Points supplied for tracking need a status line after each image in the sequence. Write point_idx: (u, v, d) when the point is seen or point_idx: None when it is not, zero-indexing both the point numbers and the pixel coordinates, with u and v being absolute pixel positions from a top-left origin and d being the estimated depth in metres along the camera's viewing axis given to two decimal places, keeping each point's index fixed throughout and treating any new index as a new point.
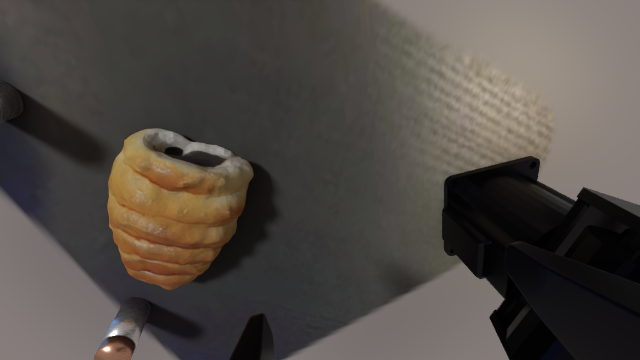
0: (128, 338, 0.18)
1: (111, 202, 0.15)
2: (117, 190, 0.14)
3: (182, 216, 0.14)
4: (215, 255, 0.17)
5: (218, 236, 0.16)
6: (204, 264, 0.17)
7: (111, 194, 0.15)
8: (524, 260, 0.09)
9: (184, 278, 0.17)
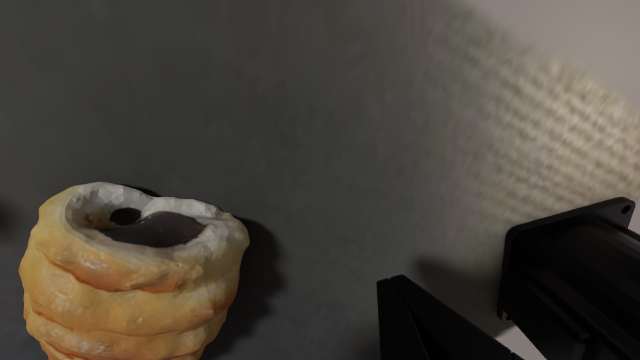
0: None
1: (26, 301, 0.10)
2: (28, 290, 0.09)
3: (136, 328, 0.09)
4: None
5: (197, 343, 0.10)
6: None
7: (24, 290, 0.09)
8: (398, 296, 0.08)
9: None
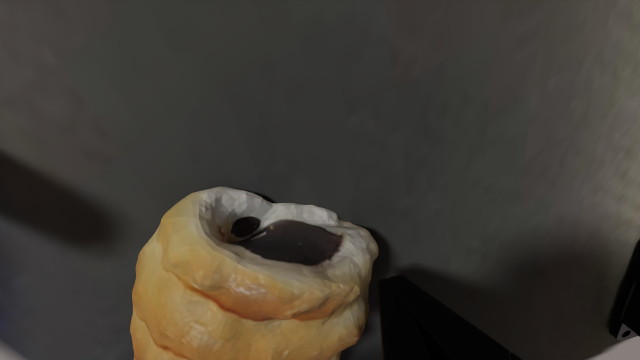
0: None
1: (139, 330, 0.08)
2: (152, 320, 0.07)
3: None
4: None
5: None
6: None
7: (138, 317, 0.08)
8: (398, 296, 0.08)
9: None
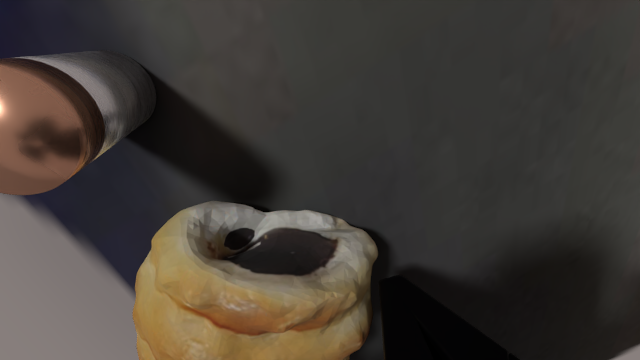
0: None
1: (143, 349, 0.08)
2: (152, 340, 0.07)
3: None
4: None
5: None
6: None
7: (141, 337, 0.08)
8: (397, 296, 0.08)
9: None
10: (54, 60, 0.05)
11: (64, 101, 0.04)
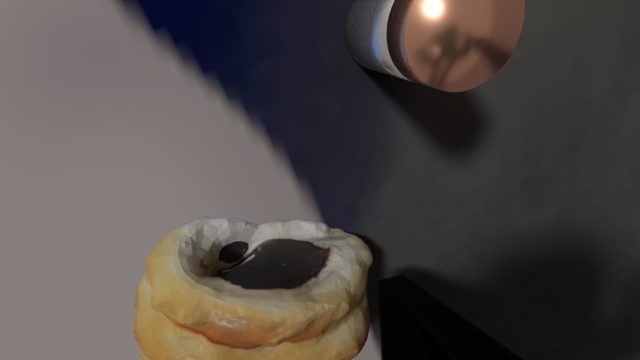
0: None
1: None
2: (152, 357, 0.07)
3: None
4: None
5: None
6: None
7: (144, 353, 0.08)
8: (398, 296, 0.08)
9: None
10: None
11: None
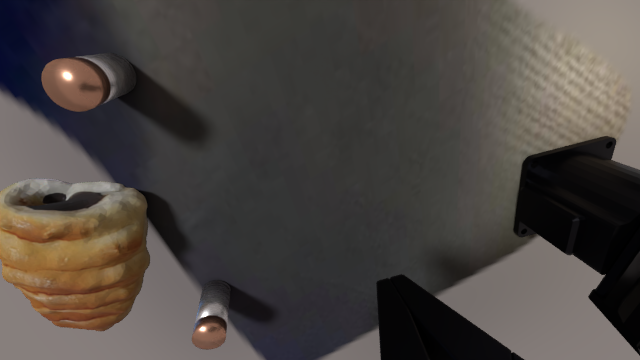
0: (221, 318, 0.18)
1: None
2: None
3: (65, 265, 0.14)
4: (128, 292, 0.16)
5: (116, 275, 0.15)
6: (123, 302, 0.17)
7: None
8: (399, 296, 0.08)
9: (108, 319, 0.17)
10: (90, 58, 0.11)
11: (96, 73, 0.11)
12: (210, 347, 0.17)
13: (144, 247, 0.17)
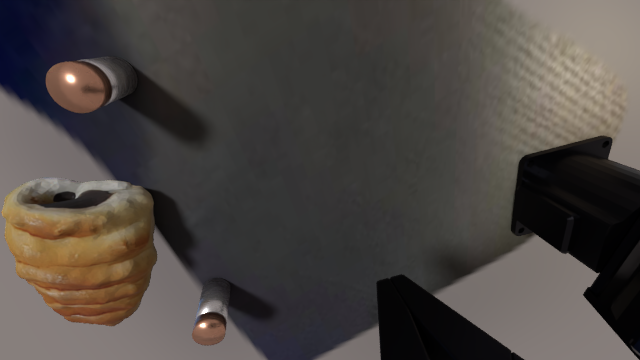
0: (221, 315, 0.18)
1: (15, 258, 0.15)
2: (9, 248, 0.14)
3: (75, 261, 0.14)
4: (137, 287, 0.17)
5: (125, 271, 0.16)
6: (131, 297, 0.17)
7: None
8: (398, 296, 0.08)
9: (118, 314, 0.17)
10: (92, 61, 0.12)
11: (97, 76, 0.11)
12: (210, 343, 0.18)
13: (151, 244, 0.17)
